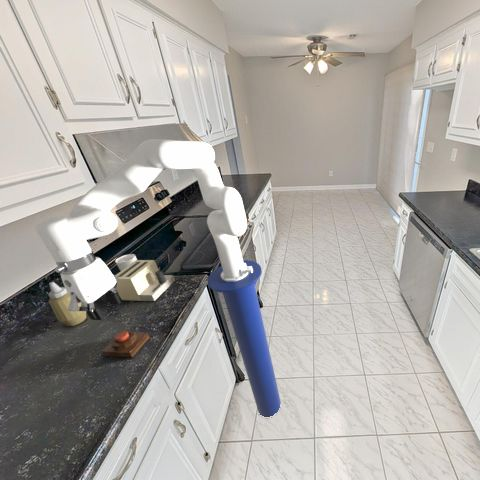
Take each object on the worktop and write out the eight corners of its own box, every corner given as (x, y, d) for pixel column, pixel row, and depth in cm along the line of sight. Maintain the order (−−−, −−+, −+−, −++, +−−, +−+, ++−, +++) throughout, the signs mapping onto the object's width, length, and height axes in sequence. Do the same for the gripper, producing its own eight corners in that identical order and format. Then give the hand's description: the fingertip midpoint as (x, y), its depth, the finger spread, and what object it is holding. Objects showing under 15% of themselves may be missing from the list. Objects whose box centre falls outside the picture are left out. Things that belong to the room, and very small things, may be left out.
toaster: (175, 280, 116) (167, 260, 111) (154, 301, 104) (144, 279, 99) (145, 280, 118) (136, 259, 113) (121, 300, 106) (110, 278, 101)
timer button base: (149, 337, 87) (145, 328, 85) (132, 357, 80) (127, 348, 78) (123, 336, 88) (118, 327, 86) (104, 356, 81) (98, 347, 79)
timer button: (132, 334, 84) (130, 330, 83) (123, 343, 81) (121, 339, 80) (122, 334, 84) (120, 330, 83) (113, 342, 81) (111, 339, 80)
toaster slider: (167, 279, 111) (163, 270, 109) (163, 283, 109) (159, 274, 107) (161, 279, 112) (157, 270, 109) (157, 283, 109) (153, 274, 107)
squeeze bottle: (74, 314, 100) (49, 277, 92) (95, 312, 100) (72, 275, 92) (57, 330, 93) (28, 291, 84) (79, 328, 93) (53, 289, 85)
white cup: (146, 273, 123) (138, 255, 119) (130, 282, 117) (121, 264, 113) (136, 270, 127) (128, 252, 122) (120, 279, 120) (111, 261, 116)
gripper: (57, 280, 61) (92, 334, 69) (115, 245, 76) (139, 293, 84) (30, 280, 62) (68, 333, 70) (93, 245, 77) (118, 292, 85)
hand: (106, 310), depth 77 cm, fingers open, 5 cm apart
